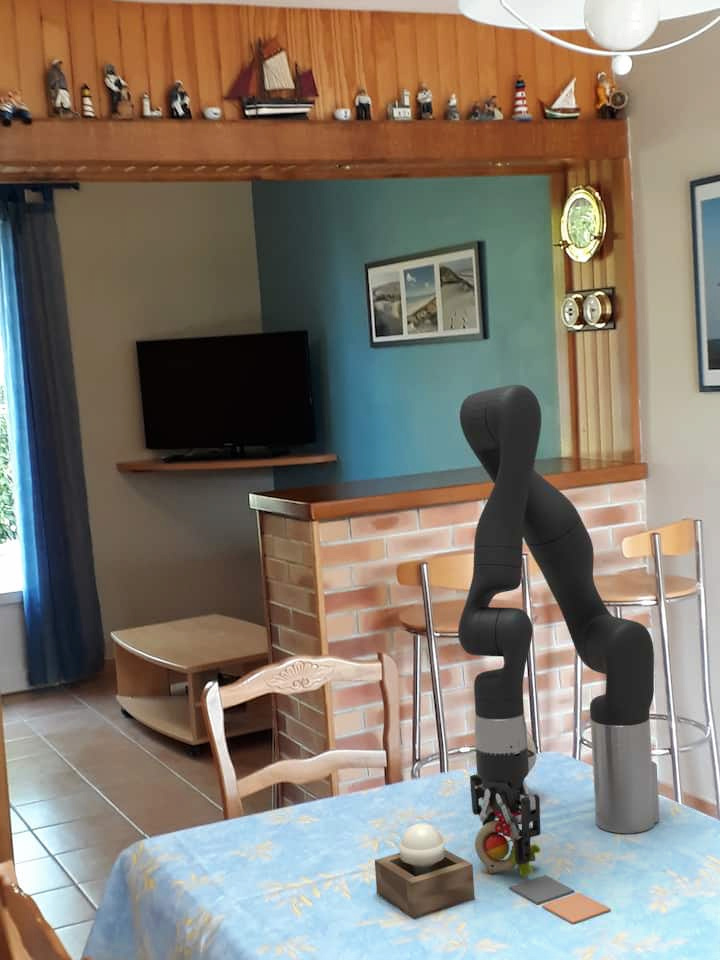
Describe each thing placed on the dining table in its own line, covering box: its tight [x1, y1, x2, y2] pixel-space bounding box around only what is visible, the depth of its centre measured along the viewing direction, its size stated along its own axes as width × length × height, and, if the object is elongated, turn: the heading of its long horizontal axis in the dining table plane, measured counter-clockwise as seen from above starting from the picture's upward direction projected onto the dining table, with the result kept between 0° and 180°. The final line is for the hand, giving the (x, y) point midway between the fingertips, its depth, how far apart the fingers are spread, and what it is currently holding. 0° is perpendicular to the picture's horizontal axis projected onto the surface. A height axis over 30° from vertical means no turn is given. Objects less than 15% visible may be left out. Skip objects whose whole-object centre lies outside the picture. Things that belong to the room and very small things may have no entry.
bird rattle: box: [474, 806, 541, 878], centre depth 174 cm, size 6×11×9 cm
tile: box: [541, 892, 612, 925], centre depth 162 cm, size 6×6×1 cm
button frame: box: [374, 849, 476, 920], centre depth 168 cm, size 10×10×5 cm
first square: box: [508, 874, 575, 905], centre depth 168 cm, size 6×6×1 cm
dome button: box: [398, 822, 446, 877], centre depth 168 cm, size 6×6×7 cm
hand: (507, 854), depth 174 cm, fingers closed on bird rattle, 7 cm apart
